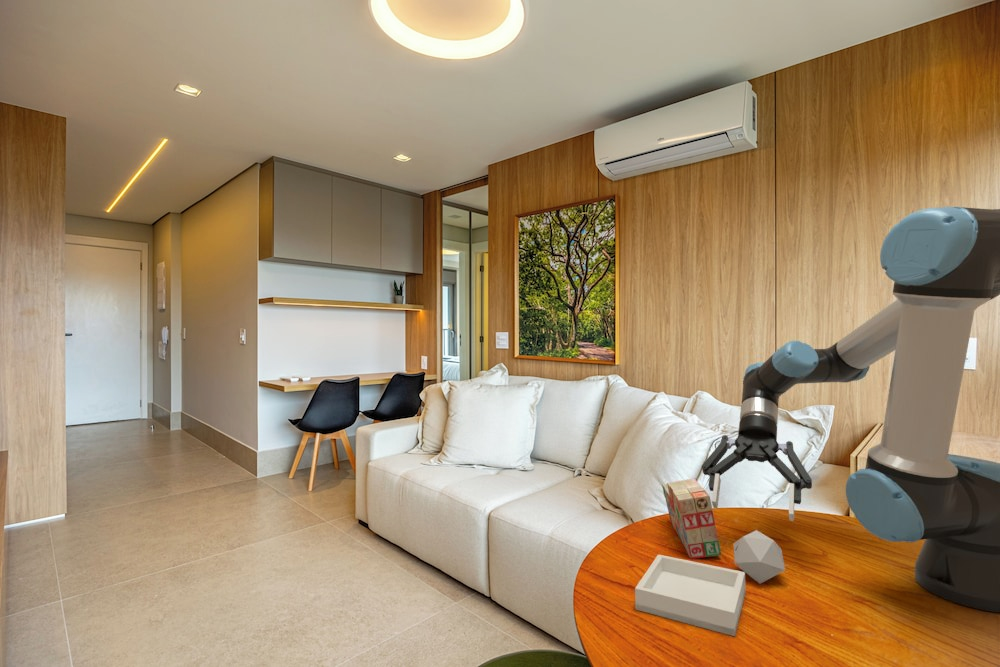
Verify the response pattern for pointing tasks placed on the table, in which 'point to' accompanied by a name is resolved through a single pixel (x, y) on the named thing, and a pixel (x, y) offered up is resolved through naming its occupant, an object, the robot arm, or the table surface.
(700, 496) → the stack of blocks
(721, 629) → the tray
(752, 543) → the die
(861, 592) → the table surface
